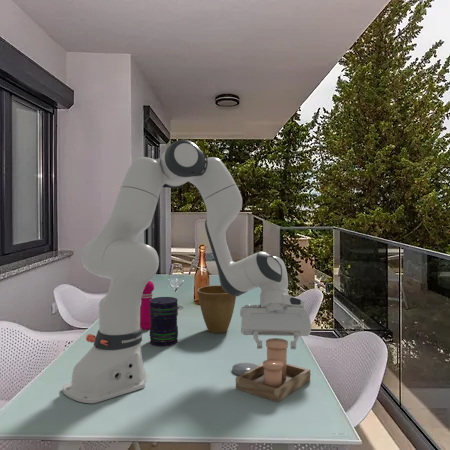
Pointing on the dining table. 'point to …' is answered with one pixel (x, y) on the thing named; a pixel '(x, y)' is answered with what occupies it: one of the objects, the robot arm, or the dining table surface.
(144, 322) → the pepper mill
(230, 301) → the plant pot
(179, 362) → the dining table surface
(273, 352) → the tall pot
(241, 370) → the grey disc
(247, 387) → the wooden tray
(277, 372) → the small pot
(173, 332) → the storage jar
